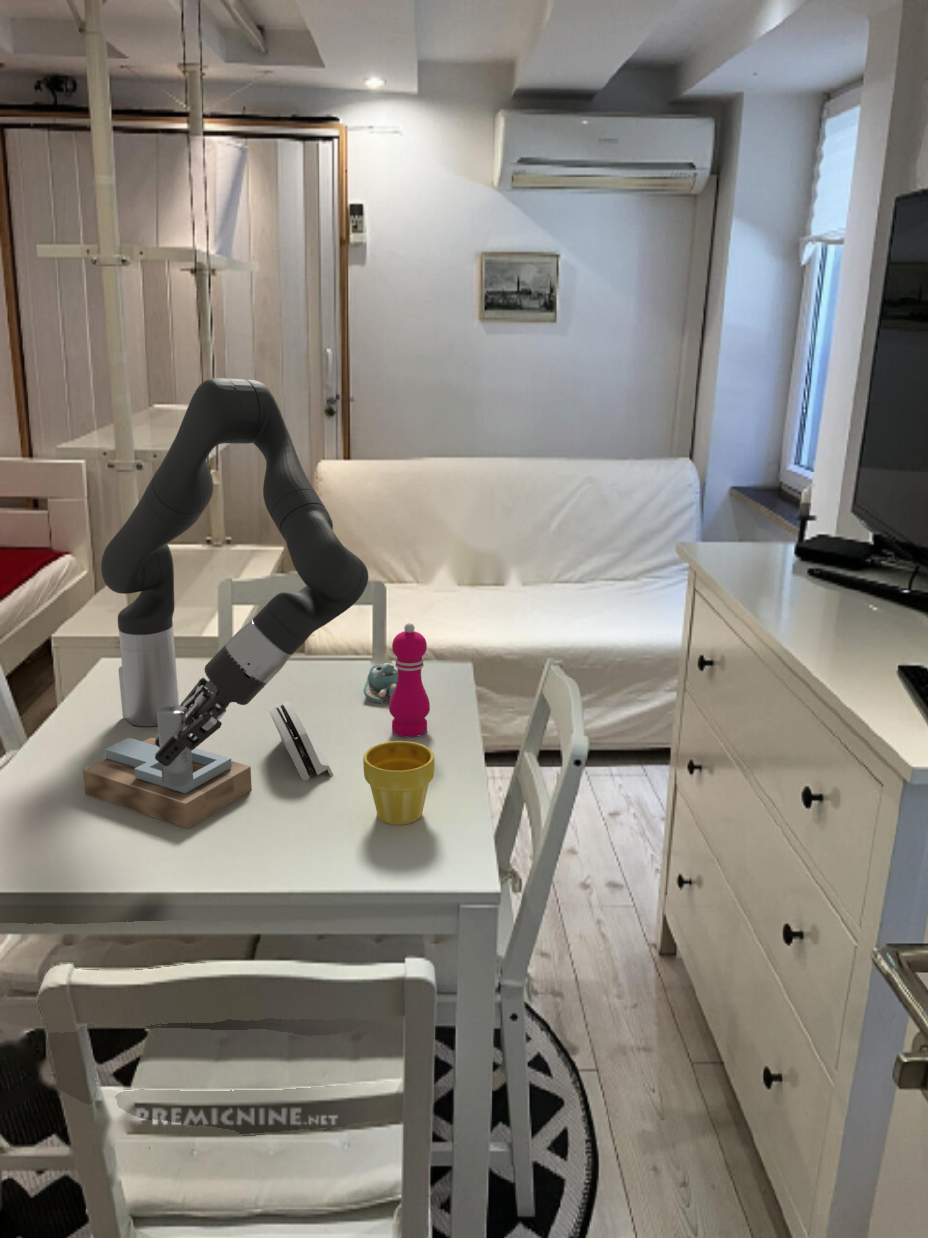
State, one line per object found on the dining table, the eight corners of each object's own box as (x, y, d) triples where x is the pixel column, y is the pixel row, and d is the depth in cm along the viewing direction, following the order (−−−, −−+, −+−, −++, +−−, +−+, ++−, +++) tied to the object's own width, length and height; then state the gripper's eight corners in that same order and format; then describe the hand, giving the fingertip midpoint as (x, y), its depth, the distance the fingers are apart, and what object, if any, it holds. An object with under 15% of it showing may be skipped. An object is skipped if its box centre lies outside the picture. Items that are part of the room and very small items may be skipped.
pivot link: (92, 764, 155) (91, 755, 154) (141, 740, 163) (140, 732, 163) (185, 793, 146) (184, 784, 146) (231, 767, 155) (231, 758, 154)
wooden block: (85, 793, 154) (82, 770, 153) (152, 759, 166) (150, 737, 165) (187, 828, 145) (185, 803, 144) (251, 789, 157) (250, 766, 155)
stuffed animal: (377, 687, 184) (353, 655, 194) (374, 720, 188) (351, 687, 197) (430, 678, 189) (403, 648, 199) (426, 710, 193) (401, 679, 202)
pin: (156, 782, 135) (150, 713, 132) (177, 770, 138) (172, 703, 135) (178, 789, 133) (173, 720, 130) (199, 777, 136) (194, 709, 133)
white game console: (333, 776, 162) (311, 725, 158) (306, 789, 160) (283, 738, 156) (310, 735, 176) (289, 687, 172) (285, 747, 175) (263, 699, 171)
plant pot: (377, 838, 143) (376, 775, 140) (355, 805, 152) (354, 746, 149) (444, 824, 147) (445, 763, 144) (419, 793, 156) (419, 735, 153)
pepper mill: (382, 734, 177) (381, 626, 171) (400, 719, 184) (399, 615, 178) (419, 741, 175) (419, 632, 169) (436, 726, 181) (437, 620, 175)
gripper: (223, 627, 138) (138, 717, 139) (230, 662, 125) (136, 761, 126) (264, 660, 141) (181, 748, 142) (275, 698, 128) (183, 794, 129)
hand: (160, 753), depth 134 cm, fingers closed on pin, 4 cm apart
